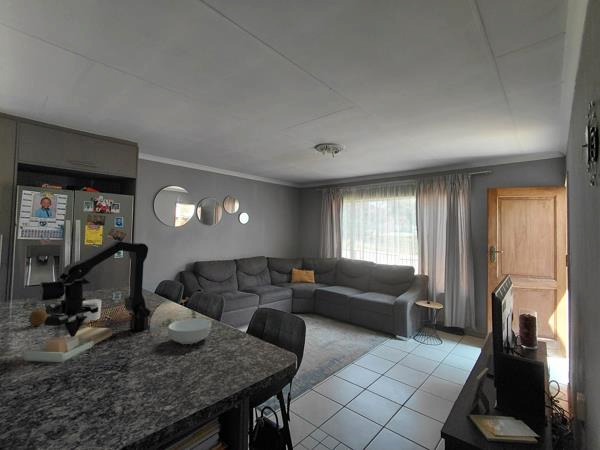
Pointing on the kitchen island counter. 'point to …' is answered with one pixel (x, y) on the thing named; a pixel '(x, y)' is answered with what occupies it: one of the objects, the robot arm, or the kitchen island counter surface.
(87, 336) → the beech board
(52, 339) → the terracotta tile
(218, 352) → the kitchen island counter surface
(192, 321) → the cereal bowl
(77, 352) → the tray
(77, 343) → the cream tile
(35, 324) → the fruit
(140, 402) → the kitchen island counter surface
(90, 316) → the white cup
